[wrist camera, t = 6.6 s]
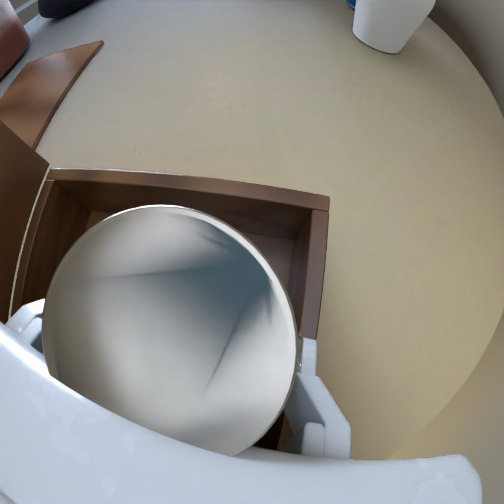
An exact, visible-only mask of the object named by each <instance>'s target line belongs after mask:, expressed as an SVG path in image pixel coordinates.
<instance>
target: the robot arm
mask: <svg viewBox="0 0 504 504" xmlns="http://www.w3.org/2000/svg"><path fill="white" fill-rule="evenodd" d="M44 302H45V299H41V300H38V301H35V302H32V303H29V304H26V305H23V306H22V307H21V308H20V309H19V310H18V311H17V312H16V313H15V314H14V315H13V316H12V317H11V318H10V319H9V320H8V321H7V323H6V324H5V325H4V324H3V323H2V322H1V321H0V504H483V493H482V483H481V478H480V476H479V474H478V472H477V471H476V469H475V468H474V467H473V465H472V464H471V463H470V461H469V460H468V459H467V458H466V457H465V456H464V455H462V454H452V455H445V456H438V457H429V458H419V459H402V460H352V459H351V426H350V424H349V422H348V421H347V419H346V418H345V416H344V415H343V413H342V411H341V410H340V408H339V407H338V405H337V404H336V402H335V400H334V399H333V397H332V396H331V394H330V392H329V391H328V389H327V388H326V386H325V385H324V383H323V381H322V380H321V378H320V377H317V376H316V366H317V341H316V340H313V339H309V338H305V337H301V336H298V348H299V352H298V363H297V371H296V375H295V379H294V383H293V387H292V390H291V393H290V395H289V398H288V400H287V402H286V405H285V407H284V408H283V410H284V413H285V415H286V418H287V420H288V422H289V425H290V427H291V430H292V432H293V434H294V436H293V437H292V438H291V439H290V440H289V441H287V442H286V443H285V444H284V445H283V446H282V447H281V448H280V451H275V450H270V449H265V448H260V447H255V446H251V447H250V448H248V449H247V450H245V451H244V452H242V453H240V454H239V455H237V456H235V457H229V456H226V455H222V454H218V453H215V452H211V451H208V450H204V449H201V448H198V447H195V446H192V445H189V444H186V443H183V442H180V441H177V440H175V439H172V438H169V437H166V436H164V435H161V434H159V433H156V432H154V431H151V430H149V429H147V428H144V427H142V426H140V425H138V424H135V423H133V422H131V421H129V420H127V419H125V418H122V417H120V416H118V415H116V414H114V413H112V412H110V411H108V410H107V409H105V408H103V407H101V406H99V405H97V404H95V403H94V402H92V401H90V400H88V399H87V398H85V397H83V396H81V395H80V394H78V393H76V392H75V391H73V390H72V389H70V388H68V387H67V386H65V385H64V384H62V383H61V382H59V381H57V380H56V379H55V378H53V377H52V376H50V375H49V373H48V370H47V366H46V362H45V358H44V352H43V345H42V314H43V307H44Z"/></svg>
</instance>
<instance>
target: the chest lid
mask: <svg viewBox="0 0 504 504" xmlns="http://www.w3.org/2000/svg"><path fill="white" fill-rule="evenodd" d="M48 166H49V163H48V162H47V161H46V160H45V159H43V158H42V157H41V156H40V155H39V154H38V153H36V152H35V151H34V150H33V149H32V148H31V147H30V146H29V145H27V144H26V143H25V142H24V141H23V140H22V139H21V138H20V137H18V136H17V135H16V134H15V133H14V132H13V131H12V130H11V129H10V128H9V127H8V126H7V125H5V124H4V123H3V122H2V121H1V120H0V321H1V322H2V323H3V324H4V325H5V324H6V323H7V321H8V315H9V307H10V300H11V293H12V287H13V281H14V276H15V271H16V266H17V261H18V257H19V253H20V249H21V245H22V241H23V237H24V234H25V230H26V227H27V223H28V220H29V217H30V214H31V211H32V208H33V205H34V202H35V199H36V196H37V194H38V191H39V188H40V186H41V183H42V181H43V178H44V176H45V173H46V171H47V168H48Z"/></svg>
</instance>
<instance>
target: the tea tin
mask: <svg viewBox="0 0 504 504" xmlns="http://www.w3.org/2000/svg"><path fill="white" fill-rule="evenodd" d="M42 345H43V352H44V358H45V362H46V366H47V370H48V373H49V375H50V376H52V377H53V378H55V379H56V380H57V381H59V382H61V383H62V384H64V385H65V386H67V387H68V388H70V389H72V390H73V391H75V392H76V393H78V394H80V395H81V396H83V397H85V398H87V399H88V400H90V401H92V402H94V403H95V404H97V405H99V406H101V407H103V408H105V409H107V410H108V411H110V412H112V413H114V414H116V415H118V416H120V417H122V418H125V419H127V420H129V421H131V422H133V423H135V424H138V425H140V426H142V427H144V428H147V429H149V430H151V431H154V432H156V433H159V434H161V435H164V436H166V437H169V438H172V439H175V440H177V441H180V442H183V443H186V444H189V445H192V446H195V447H198V448H201V449H204V450H208V451H211V452H215V453H218V454H222V455H226V456H229V457H235V456H237V455H239V454H240V453H242V452H244V451H245V450H247V449H248V448H250V447H251V446H252V445H254V444H255V443H256V442H257V441H258V440H259V439H260V438H261V437H262V436H264V435H265V434H266V432H267V431H268V430H269V429H270V428H271V426H272V425H273V424H274V423H275V421H276V420H277V418H278V417H279V415H280V413H281V412H282V410H283V408H284V407H285V405H286V402H287V400H288V398H289V395H290V393H291V390H292V387H293V383H294V379H295V375H296V371H297V363H298V352H299V348H298V330H297V325H296V320H295V314H294V311H293V307H292V304H291V301H290V298H289V295H288V293H287V291H286V289H285V287H284V285H283V283H282V281H281V278H280V276H279V275H278V273H277V272H276V270H275V269H274V267H273V266H272V264H271V263H270V261H269V260H268V259H267V258H266V256H265V255H264V254H263V253H262V252H261V251H260V249H259V248H258V247H257V246H256V245H255V244H254V243H253V242H252V241H250V240H249V239H248V238H247V237H246V236H245V235H244V234H242V233H241V232H240V231H238V230H237V229H235V228H234V227H232V226H231V225H229V224H228V223H226V222H224V221H222V220H220V219H218V218H216V217H214V216H212V215H210V214H207V213H204V212H201V211H198V210H195V209H191V208H186V207H181V206H172V205H151V206H142V207H137V208H133V209H128V210H125V211H122V212H120V213H117V214H114V215H112V216H110V217H108V218H106V219H104V220H103V221H101V222H99V223H97V224H96V225H95V226H93V227H92V228H90V229H89V230H88V231H86V232H85V233H84V234H83V235H82V236H81V237H80V238H79V239H78V240H77V241H76V242H75V243H74V244H73V245H72V246H71V248H70V249H69V250H68V251H67V252H66V254H65V255H64V257H63V258H62V260H61V262H60V263H59V265H58V266H57V268H56V270H55V273H54V275H53V277H52V279H51V281H50V284H49V287H48V290H47V293H46V297H45V302H44V307H43V314H42Z"/></svg>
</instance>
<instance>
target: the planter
mask: <svg viewBox="0 0 504 504" xmlns="http://www.w3.org/2000/svg"><path fill="white" fill-rule="evenodd" d="M29 41H30V38H29V35H28V34H27V32H26V30H25V28H24V27H23V25H22V23H21V21H20V20H19V18H18V16H17V15H16V13H15V11H14V9H13V7H12V6H11V4H10V2H9V0H0V80H1V79H2V78H3V77H4V76H5V74H6V73H7V72H8V71H9V70H10V69H11V68H12V67H13V66H14V64H15V63H16V62H17V61H18V60H19V58H20V57H21V56H22V54H23V53H24V51H25V50H26V48H27V46H28V44H29Z"/></svg>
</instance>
